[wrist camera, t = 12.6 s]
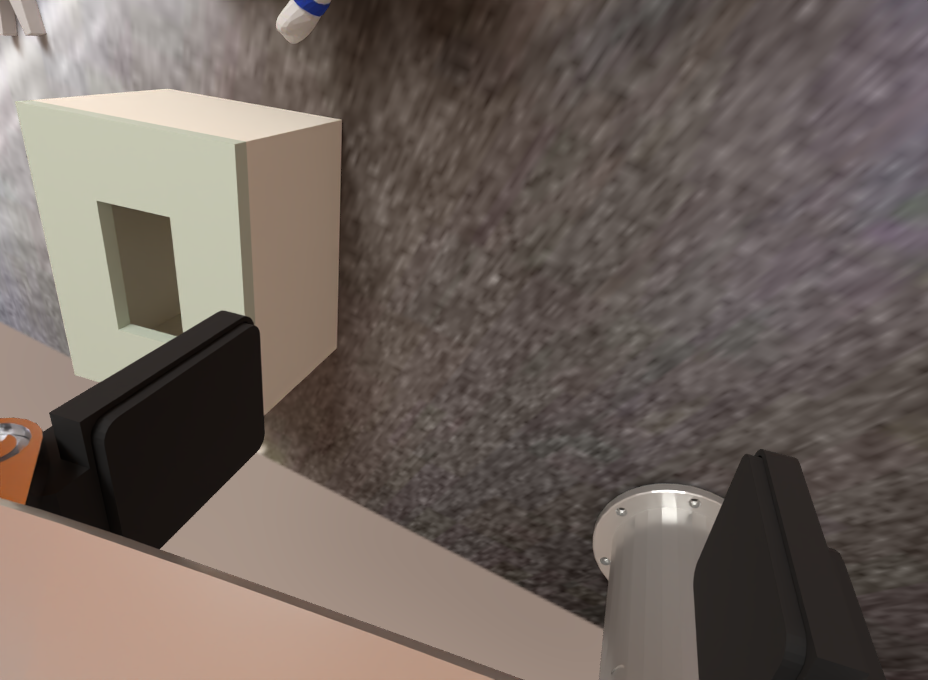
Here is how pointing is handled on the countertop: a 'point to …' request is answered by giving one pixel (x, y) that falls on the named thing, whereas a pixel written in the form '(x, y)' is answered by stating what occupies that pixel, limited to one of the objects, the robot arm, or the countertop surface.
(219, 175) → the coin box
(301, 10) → the toy
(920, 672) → the countertop surface
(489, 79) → the countertop surface
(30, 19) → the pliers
